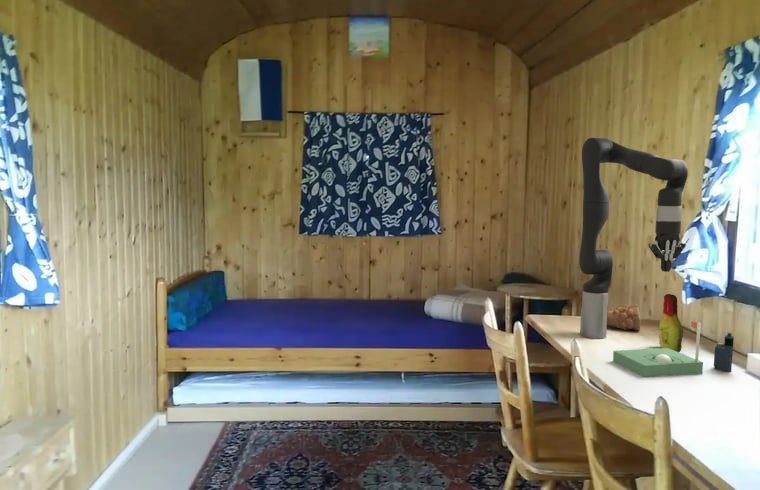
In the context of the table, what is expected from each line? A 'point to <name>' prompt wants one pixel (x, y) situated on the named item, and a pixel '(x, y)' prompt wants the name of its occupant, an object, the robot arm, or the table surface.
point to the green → (649, 367)
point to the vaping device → (724, 354)
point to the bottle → (670, 325)
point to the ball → (663, 358)
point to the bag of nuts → (625, 317)
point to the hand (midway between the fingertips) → (665, 271)
